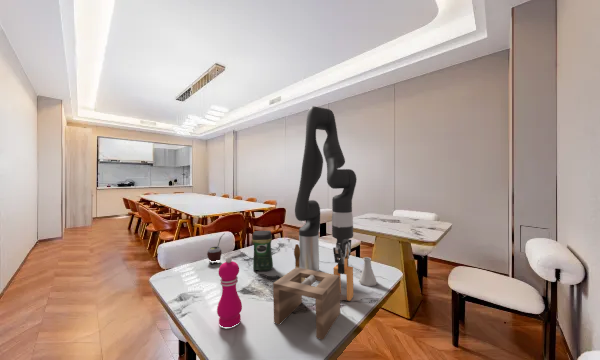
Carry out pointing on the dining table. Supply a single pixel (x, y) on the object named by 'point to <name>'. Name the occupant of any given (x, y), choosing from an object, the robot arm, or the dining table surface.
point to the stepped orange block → (349, 275)
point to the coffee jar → (262, 250)
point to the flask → (367, 274)
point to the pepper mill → (229, 295)
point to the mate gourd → (214, 252)
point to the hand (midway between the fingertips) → (343, 270)
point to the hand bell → (297, 258)
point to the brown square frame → (293, 289)
